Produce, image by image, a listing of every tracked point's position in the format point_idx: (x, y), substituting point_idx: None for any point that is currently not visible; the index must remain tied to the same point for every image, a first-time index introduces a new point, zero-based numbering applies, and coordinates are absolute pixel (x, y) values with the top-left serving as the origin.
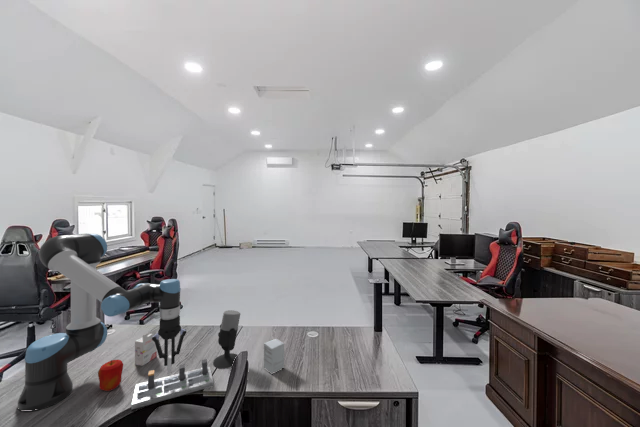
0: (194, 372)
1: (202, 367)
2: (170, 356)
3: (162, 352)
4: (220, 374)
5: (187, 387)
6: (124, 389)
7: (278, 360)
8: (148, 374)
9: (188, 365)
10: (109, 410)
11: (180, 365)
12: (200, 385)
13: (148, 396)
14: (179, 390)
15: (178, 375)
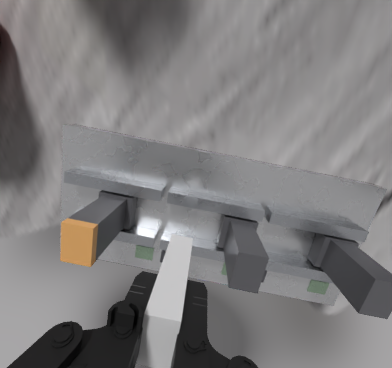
0: (299, 228)
1: (341, 291)
2: (166, 344)
3: (63, 360)
4: (384, 243)
5: None
6: (33, 94)
7: None
8: (61, 258)
9: (311, 66)
10: (8, 201)
11: (243, 257)
12: (285, 295)
13: (111, 244)
14: (212, 279)
15: (229, 210)
